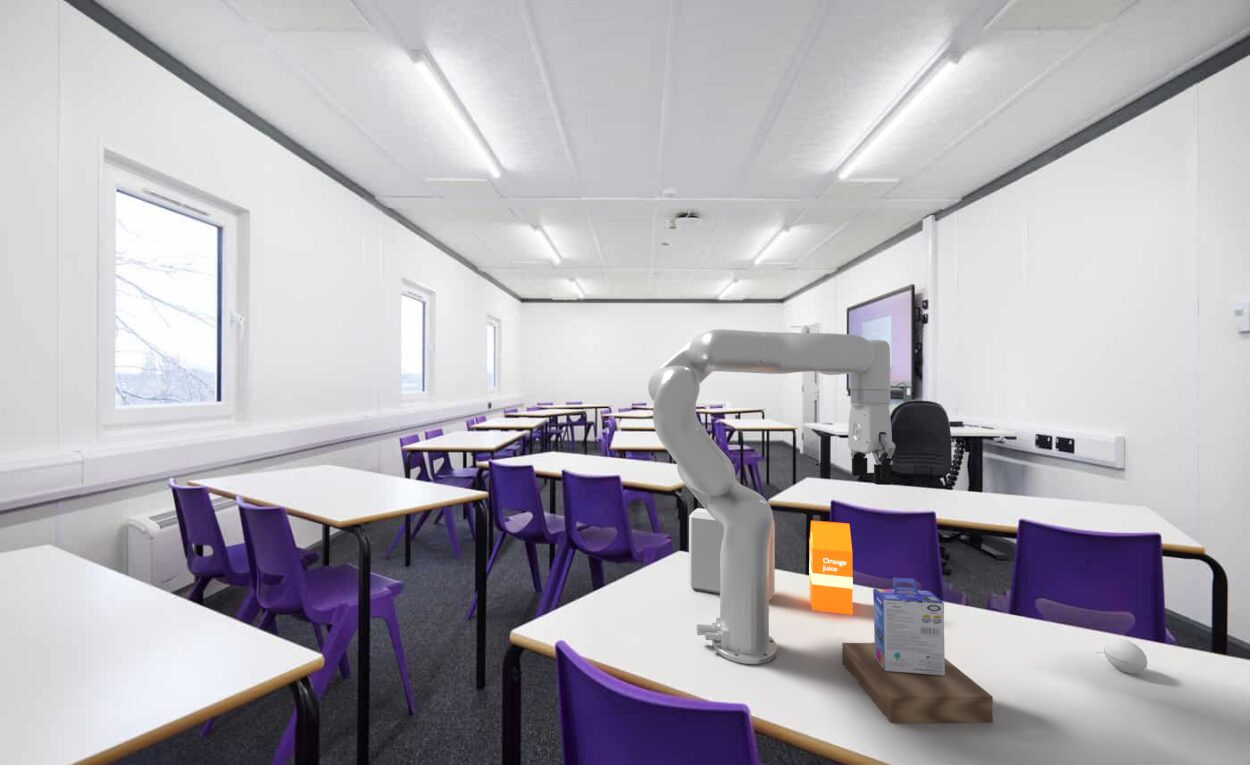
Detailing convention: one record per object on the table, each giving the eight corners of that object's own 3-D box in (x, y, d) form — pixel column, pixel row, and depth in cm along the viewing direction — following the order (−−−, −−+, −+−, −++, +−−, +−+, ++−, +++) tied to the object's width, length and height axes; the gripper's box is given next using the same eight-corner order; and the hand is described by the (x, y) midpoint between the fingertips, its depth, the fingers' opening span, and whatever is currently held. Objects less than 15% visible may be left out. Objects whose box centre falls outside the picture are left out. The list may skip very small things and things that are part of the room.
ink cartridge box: (930, 659, 85) (930, 576, 85) (947, 677, 79) (946, 589, 80) (871, 654, 86) (871, 573, 86) (884, 672, 81) (884, 586, 81)
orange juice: (852, 615, 110) (852, 528, 111) (812, 609, 113) (812, 524, 113) (847, 600, 118) (847, 519, 118) (809, 596, 120) (809, 516, 121)
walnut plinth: (891, 723, 74) (891, 697, 74) (842, 664, 90) (842, 642, 90) (992, 722, 74) (992, 696, 74) (925, 664, 90) (925, 642, 90)
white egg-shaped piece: (1134, 665, 90) (1133, 635, 91) (1156, 682, 85) (1155, 651, 85) (1083, 657, 93) (1083, 628, 93) (1101, 674, 88) (1101, 643, 88)
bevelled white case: (775, 592, 122) (775, 514, 123) (771, 605, 115) (771, 522, 115) (695, 579, 131) (696, 505, 131) (687, 590, 123) (687, 512, 124)
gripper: (835, 398, 110) (835, 472, 109) (872, 399, 92) (873, 488, 92) (868, 398, 109) (868, 473, 109) (911, 399, 92) (912, 488, 92)
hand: (870, 479), depth 101 cm, fingers open, 9 cm apart
